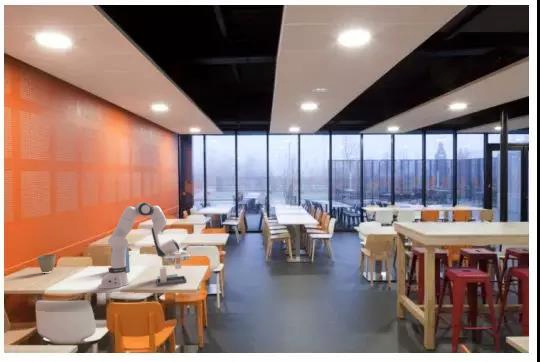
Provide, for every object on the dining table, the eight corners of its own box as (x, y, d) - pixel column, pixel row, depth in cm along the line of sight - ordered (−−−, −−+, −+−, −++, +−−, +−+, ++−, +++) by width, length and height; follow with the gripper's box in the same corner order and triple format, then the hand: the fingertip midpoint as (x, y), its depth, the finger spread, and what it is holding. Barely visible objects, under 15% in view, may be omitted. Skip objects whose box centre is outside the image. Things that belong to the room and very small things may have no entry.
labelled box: (175, 269, 306) (175, 254, 306) (174, 267, 310) (174, 253, 310) (181, 268, 308) (180, 253, 307) (180, 267, 312) (180, 252, 312)
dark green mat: (158, 280, 314) (158, 280, 314) (157, 276, 327) (157, 276, 327) (178, 278, 319) (178, 277, 319) (176, 274, 332) (176, 274, 332)
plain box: (160, 284, 302) (160, 268, 302) (160, 282, 307) (159, 267, 306) (166, 283, 304) (166, 268, 304) (166, 281, 308) (165, 267, 308)
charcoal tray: (157, 286, 297) (157, 283, 297) (156, 282, 310) (156, 279, 310) (186, 282, 304) (186, 279, 304) (184, 278, 318) (184, 275, 318)
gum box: (129, 271, 349) (128, 246, 349) (125, 273, 345) (124, 247, 344) (116, 269, 360) (115, 245, 360) (111, 270, 356) (110, 246, 355)
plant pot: (50, 274, 349) (49, 257, 349) (34, 275, 349) (33, 257, 349) (60, 270, 364) (59, 253, 364) (44, 271, 364) (43, 254, 364)
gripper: (163, 254, 318) (164, 257, 305) (188, 252, 325) (190, 255, 312) (163, 261, 318) (164, 265, 305) (188, 259, 325) (190, 262, 312)
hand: (178, 260), depth 308 cm, fingers closed on labelled box, 4 cm apart
